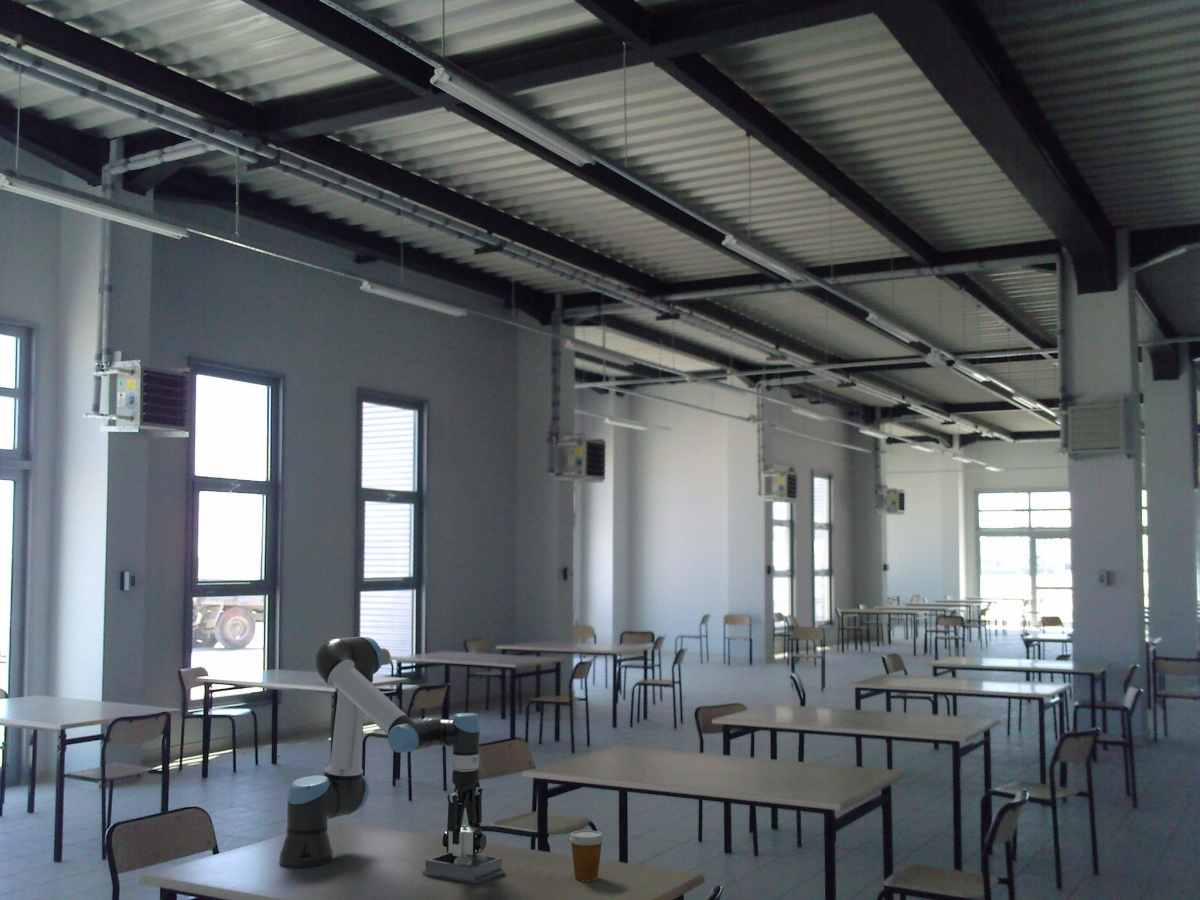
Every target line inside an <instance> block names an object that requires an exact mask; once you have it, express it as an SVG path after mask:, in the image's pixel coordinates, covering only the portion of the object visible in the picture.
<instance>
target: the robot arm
mask: <svg viewBox="0 0 1200 900" xmlns="http://www.w3.org/2000/svg"><path fill="white" fill-rule="evenodd" d="M383 657H384V656H383V651H382V649H381V646H380V645H379V644H378V642H377V641H376V640H374V639H373V638H371V637H366V636H351V637H342V638H331V639H329V640H326V641H325V642H323V644H322V645H320V646H319V648H318V650H317V652H316V654H315V663H314V664H315V668H316V671H317V673H318V674H319V676H320V678H321V679H322V680H323V681H324V682H325V683H326V684H327V685H328V686H329V687H330V688H336V689H338V691H337V700H336V709H335V710H336V711H335V719H334V728H333V737H332V747H331V755H330V764H329V765H328V766H326V767H325V769H324V773H323V775H316V774H315V775H310V776H304V777H300V778H298V779H295V780H294V781H292V782H291V783H290V785H289V786H288V795H287V799H286V800H287V812H286V813H287V814H286V815H287V816H286V817H287V819H286V835H285V839H284V841H283V845H282V849H281V851H280V854H279V864H280V865H281V866H285V867H291V868H310V867H316V866H322V865H326V864H328V863H330V862H332V861H333V856H334V855H333V854H334V853H333V852H334V851H333V849H332V847H331V842H330V838H329V833H328V824H329V823H328V821H329V820H331V819H334V818H339V817H342V816H348V815H350V814H353V813H355V812H358V811H359V810H361V809H362V808H363V807H364V806H365V804H366V803H367V800H368V798H369V792H370V788H369V783H368V782H367V778H366V777H365V775H364V770H363V768H362V767H361V766H360V756H361V749H362V748H361V747H362V741H363V740H362V738H363V731H364V730H363V729H364V721H365V720H364V719H365V715H366V716H367V718H369V719H370V720H371V721H372V722H373V723H374V724H376V726H377V727H378V728H379V729H380V730H382V731H383V732H384V733H385V734H386V735H387V736H388V737H387V742H388V744H389V747H390V749H391V750H392V751H394V752H395V753H410V752H413V751H418V750H421V749H428V748H431V747H437V746H441V747H451V748H452V759H451V760H452V765H451V767H452V769H453V770H452V772H451V773H452V777H451V778H452V779H451V782H452V784H453V785H454V790H453V793H451V794H449V793H448V794H447V803H448V805H447V808H448V809H447V825H446V827H447V829H446V831H447V830H448V831H451V832H452V833H453V839H452V843H453V856H459V857H461V856H462V836H463V832H460V831H461V827H463V825H462V824H463V819H464V815H465V814H464V813H465V809H466V815H467V817H466V818H467V822H468V826H467V827H468V828H480V827H481V824H482V821H483V819H482V817H483V816H482V815H483V814H482V811H483V809H482V796H483V795H482V794H483V791H484V790H483V788H482V787H477V784H478V783H479V781H480V778H479V777H480V776H479V775H480V774H479V773H480V772H479V771H480V770H479V769H478V768H479V766H480V764H479V763H480V759H479V758H480V756H479V755H480V749H479V747H480V733H481V732H480V731H481V727H480V717H479V715H478V714H477V713H473V712H460V713H456V714H454V715H453V717H452V718H453V719H448V718H447V719H446V718H437V717H425V718H423V719H422V720H421V721H416V722H415V721H414V720H412V718H410V717H409V716H408V715H407V714H406V713H405V712H404V711H402V710H401V709H400V708H399V707H398V706H397V705H396V704H395V703H394V702H393V701H391V700H390V698H388V696H387V695H385V694H384V693H383V692H382V691H381V689H379V688H377V687H376V686H375V685H374V684H373V683H374V682H373V681H374V675H375V674H377V672H379V670H380V669H381V667H382V665H383V660H384V658H383Z"/></svg>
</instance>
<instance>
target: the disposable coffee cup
mask: <svg viewBox="0 0 1200 900" xmlns="http://www.w3.org/2000/svg"><path fill="white" fill-rule="evenodd" d="M569 841H570V843H571V844H570V845H571V852H572V860H573V861H572V862H573V871H574V872H573V874H574V879H575V878H576V879H578V880H577V881H579V880H593V881H595V880H594V879H596V878H597V877H598V876H599V869H600V861H601V851H602V844H603V841H604V836H603V833H602V832H601V831H597V830H592V829H591V830H588V829H583V830H582V829H581V830H576V831H573V832H571V833H570V837H569ZM576 879H575V880H576ZM597 879H598V878H597ZM597 879H596V880H597Z"/></svg>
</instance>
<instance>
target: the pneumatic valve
mask: <svg viewBox="0 0 1200 900" xmlns="http://www.w3.org/2000/svg"><path fill="white" fill-rule="evenodd" d="M468 827H469V826H467V825H466V824H463V825H462V826H461V831H460V832H463V836H462V856H461V857H457V858H456V859H455V861H454V864H458V865H464V866H470V867H474V860H473V857H472V856H467V855H476V854H480V853H481V852H483V851H484V850H485V848H486V845H487V836H486V834H485V833H484V831H483V828H479V827H476V828H468ZM452 839H453V833H452V832H451V831H448V830H447V829H446V831H445V832H444V833H443V836H442V846H443V847H444V848H445V849H446V853H453V843H452Z"/></svg>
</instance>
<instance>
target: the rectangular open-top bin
mask: <svg viewBox="0 0 1200 900" xmlns="http://www.w3.org/2000/svg"><path fill="white" fill-rule="evenodd" d="M467 856H472V857H473V860H474V867H470V866H464V865H458V864H454V861H455V859H456V858H457V857H459V856H453V853H447V852H445V853H442V854H440V855H436V856H434V857H431V858H429V859H425V869H423V870H422V875H423V876H428V877H429V876H430V877H434V878H440V879H445V880H446V879H447V880H452V881H458V882H463V883H468V884H475V885H479V884H481V883H484V882H486V881H489V880H491V879H493V878H496V877H498V876H501V875H503V874H505V869H504V868H503V867H502V866H503V863H502V862H503V858H502V857H499V856H498V857H497V856H493V855H486V854H480V853H478V854H476V855H467Z"/></svg>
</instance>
